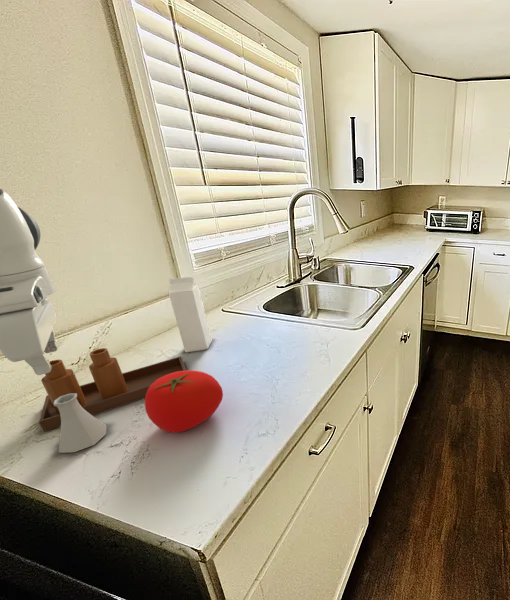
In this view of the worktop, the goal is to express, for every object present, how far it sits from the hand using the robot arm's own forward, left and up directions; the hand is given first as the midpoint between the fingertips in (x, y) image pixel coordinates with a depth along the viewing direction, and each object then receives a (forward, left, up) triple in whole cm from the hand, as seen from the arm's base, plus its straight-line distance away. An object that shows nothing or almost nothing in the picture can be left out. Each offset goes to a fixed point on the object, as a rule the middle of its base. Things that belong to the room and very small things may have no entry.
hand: (48, 360), depth 58 cm
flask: (0, 0, -18) cm, 18 cm away
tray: (+6, +14, -18) cm, 24 cm away
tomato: (+17, -8, -18) cm, 26 cm away
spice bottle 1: (-3, +14, -18) cm, 23 cm away
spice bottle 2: (+5, +14, -18) cm, 23 cm away
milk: (+25, +28, -18) cm, 42 cm away
